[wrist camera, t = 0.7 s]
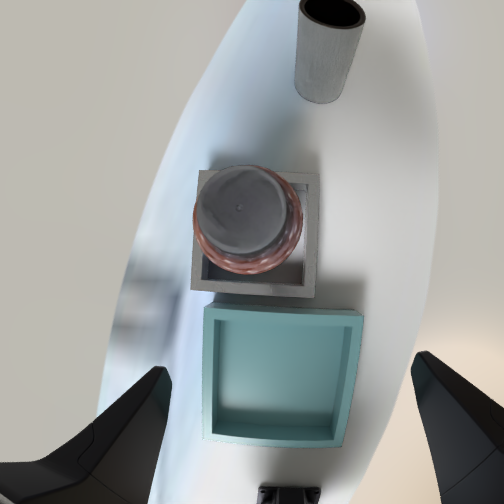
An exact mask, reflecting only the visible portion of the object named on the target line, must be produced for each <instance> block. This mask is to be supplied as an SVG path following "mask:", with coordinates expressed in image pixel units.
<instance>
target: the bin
mask: <svg viewBox="0 0 504 504" xmlns="http://www.w3.org/2000/svg"><path fill="white" fill-rule="evenodd" d="M363 321H364V316H363V315H362V314H360V313H359V312H357V311H355V310H349V309H317V308H294V307H275V306H259V305H245V304H231V303H219V302H212V303H210V304H209V305H207V306H205V307H204V318H203V356H202V439H204V440H210V441H217V442H224V443H232V444H242V445H252V446H265V447H285V448H331V447H342V443H343V438H344V434H345V430H346V425H347V421H348V416H349V411H350V406H351V401H352V396H353V391H354V385H355V379H356V373H357V367H358V360H359V353H360V346H361V338H362V330H363Z"/></svg>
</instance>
